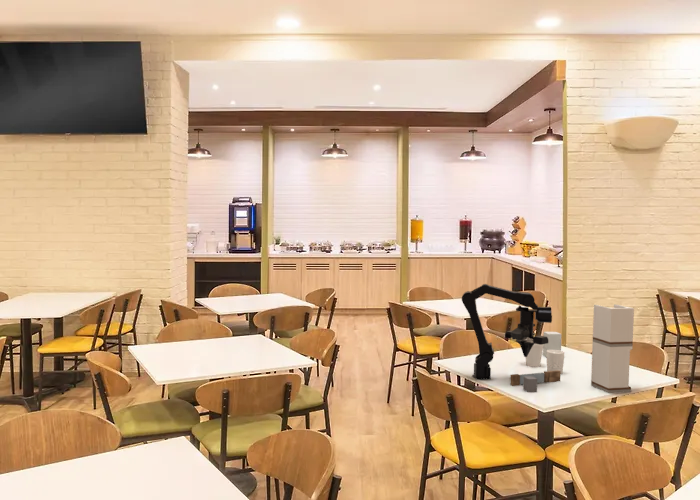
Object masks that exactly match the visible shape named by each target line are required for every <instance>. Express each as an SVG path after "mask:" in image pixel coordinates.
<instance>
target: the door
mask: <svg viewBox="0 0 700 500" xmlns="http://www.w3.org/2000/svg"><path fill="white" fill-rule="evenodd" d="M519 375H520V385H523V384H524V377H525V376H533V377H535V378H537V384H538V383H539V384H540V383H545V382H544V372H535V373H525V374H524V373H522V374H519ZM520 385H519V386H520Z"/></svg>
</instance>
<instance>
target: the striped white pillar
mask: <svg viewBox="0 0 700 500" xmlns="http://www.w3.org/2000/svg"><path fill="white" fill-rule="evenodd" d="M634 316H635V308H634V307H630V306H624V305H622V304H621V305H620V304H613V307H608V306H603V305H599V304H593V319H592V320H593V322H592V343H591V345H592V349H591V373H590V386H591V387H594V388H596V389H597V390H600V391H602V392H604V393H607V394H615V393H616V394H618V393H631V392H632V387H631V386H630V384H629V383H630V358H631V357H630V356H631V351H632V350H633V347H634V346H633V344H634V340H633V339H634Z"/></svg>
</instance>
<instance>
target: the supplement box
mask: <svg viewBox="0 0 700 500" xmlns="http://www.w3.org/2000/svg"><path fill="white" fill-rule="evenodd" d="M542 336H546V337H547V338H548V343H547V344H544V345H543V351H542V356H544V357H545V358H547V350H560V351H562V333H560V332H558V331H543V334H542Z"/></svg>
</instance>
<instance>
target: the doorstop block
mask: <svg viewBox="0 0 700 500" xmlns="http://www.w3.org/2000/svg"><path fill="white" fill-rule="evenodd" d="M522 385H523V386H522V387H523V390H524V391H525V392H526V393H537V392H538V389H537V388H538V383H537V378H535V377H533V376H525V377H524V384H522Z"/></svg>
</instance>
